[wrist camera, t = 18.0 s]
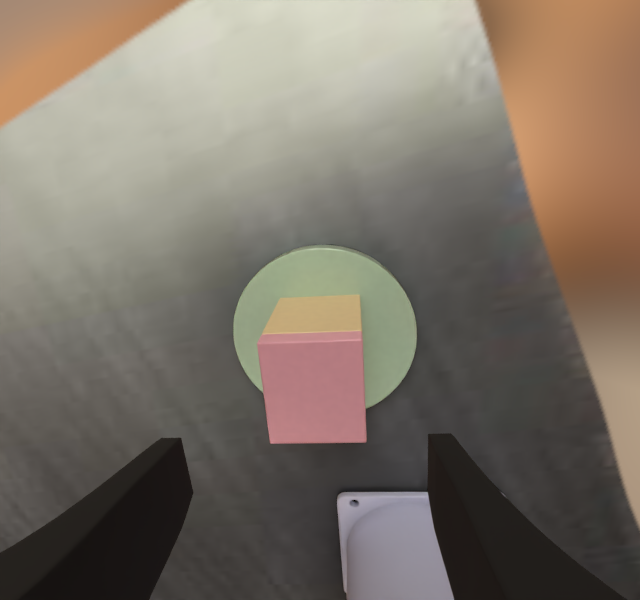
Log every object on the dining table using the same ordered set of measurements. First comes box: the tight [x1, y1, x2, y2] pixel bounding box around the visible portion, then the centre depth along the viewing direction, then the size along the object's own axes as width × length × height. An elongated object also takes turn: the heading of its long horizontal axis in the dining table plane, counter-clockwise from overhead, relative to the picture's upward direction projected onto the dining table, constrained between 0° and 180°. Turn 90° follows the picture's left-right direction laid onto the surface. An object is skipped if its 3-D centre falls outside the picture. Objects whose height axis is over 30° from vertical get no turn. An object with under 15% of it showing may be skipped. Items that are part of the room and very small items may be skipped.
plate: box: [233, 245, 417, 409], centre depth 20 cm, size 9×9×1 cm
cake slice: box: [257, 295, 367, 444], centre depth 17 cm, size 4×4×5 cm
